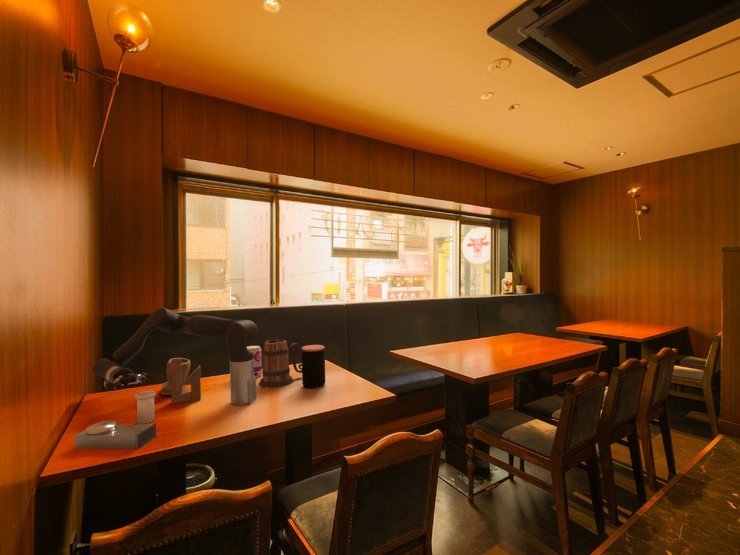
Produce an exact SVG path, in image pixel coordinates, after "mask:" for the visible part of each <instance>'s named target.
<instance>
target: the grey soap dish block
mask: <svg viewBox="0 0 740 555" xmlns="http://www.w3.org/2000/svg"><path fill="white" fill-rule="evenodd" d="M153 438H154V439H155V438H157V423H156V422H153V423H151V424H125V423H124V424H121V423H120V424H117V422H116V420H115V421H114V420H107V421H106V420H104V421H100V422H96V423H94V424H91V425H89V426H87V427H86V428H85V430H83V431H81V432H78V433H77V434H75V435H74V449H84V450H85V449H94V450H95V449H98V450H99V449H101V450H139V449H141V448H142V447H144V446H145V445H147V444H148V443H150V442H151V441H152V440H154V439H153ZM150 440H151V441H150Z"/></svg>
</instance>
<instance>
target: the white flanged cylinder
mask: <svg viewBox="0 0 740 555" xmlns="http://www.w3.org/2000/svg"><path fill="white" fill-rule="evenodd" d="M155 396H156V391H155V390H146V391H141V392H138V393H136V394H135V400H136V412H137V414H136V415H137V425H146V424H145V423H147V424H150V423H149V422H151V421H153V420H154V419H155V418H156V417H155V414H156V413H155ZM154 421H155V420H154ZM154 421H153V422H154ZM151 423H152V422H151Z"/></svg>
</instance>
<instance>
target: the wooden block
mask: <svg viewBox="0 0 740 555" xmlns="http://www.w3.org/2000/svg"><path fill="white" fill-rule="evenodd" d="M174 358H175V359H172V358H171V359H172V360H171V367H172V395H170V399H171V400H170V402H171V403H170V404H171V405H177V404H176V403H178V404H183V403H184V402H185V403H189V402H190V403H191V402H192V401H193V402H198V400H199V401H201V399H202V388H201V384H202V382H201V364H199V365H198V366H197V367H196V368H195V369H194V370H193V371H192V372H191V374H188V376H187V377H186V380H185V381H184V382H183V383H182V371H181V359H180V358H181V357H174ZM184 385H186V386H189V385H190V391H185V392H182V386H184Z"/></svg>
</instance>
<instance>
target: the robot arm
mask: <svg viewBox="0 0 740 555" xmlns="http://www.w3.org/2000/svg"><path fill="white" fill-rule="evenodd" d="M156 329H158V330H161V331H163V332H166V333H183V334H187V335H192V336H196V337H201V338H221V337H223V338H224V337H226V348H227V350H226V351H227V355H228V357H229V376H230V377H229V380H230V382H229V384H230V387H229V388H230V389H229V390H230V404H231V405H235V406H243V405H249V404H252V403H253V402H255V400H256V399H257V377H256V376H254V354H253V352H252V351H249V350H247V347H248V345H247V343H248V342H251V341H253V340H254V339H256V337H257V335H258V333H259V328H258V326H257V324H256V323H255V322H254V321H252V320H249V319H230V318H225V317H224V318H223V317H219V316H218V317H217V316H212V315H205V314H194V315H192V316H184V315H181V314H179V313H176V312H174V311H172V310H170V309H168V308H166V307H158V308H157V309H155V310H154V311H153V312H151V314H150V315H149V316H148V317H147V318H146V320H145V321H144V322H143V323H142V324H141V326H140V327H139V328H138V329H137V330H136V332H135V333H134V334H133V335H132V336H131V337H130V338H129V339H128V340H127V341H126V342H124V343H123V344H122V345H121V346H119V348H117V349H116V350H115V351H114V352H113V354H112V357H113V359H114V360H115V361H116V362H117V363H115V362H114V361H111V360H109V359H108V358H100V359H98V360H97V361H95V362H94V363H93V365H92V368H91V369H92V370H91V371H92V372H93V374H94V375H97V376H99V377H101V378H103V379H104V380H103V387H104V388H105V389H107V391H108V390H111V389H112V388H113V389H116V390H119V391H120V390H122V389H124V388H126V387H128V386H130V385H132V384H134V385H136V384H140V383H141V384H144V385H147V384H148V383H149V381H151V380H150V379H151V378H150V373H147V372H144V371H142V372H140V374H139V373H134V372H133V371H132V370H131V369H129V368H128V367H126V365H127V364H128V363H129V362H130V361H131V360H132V359H133V358H135V357H136V356H137V355H138V354H139V353H140V352H141V350H143V348H144V345H145V343H146V339H147V338H148V335H150V333H152V332H153V331H154V330H156Z"/></svg>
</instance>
